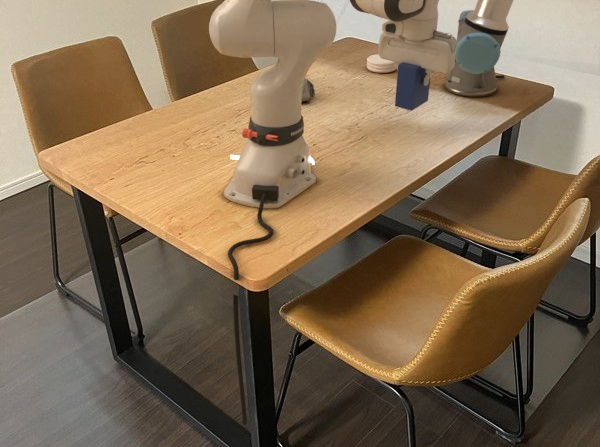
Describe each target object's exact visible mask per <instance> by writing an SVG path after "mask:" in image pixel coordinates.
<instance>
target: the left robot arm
mask: <svg viewBox="0 0 600 447" xmlns="http://www.w3.org/2000/svg"><path fill="white" fill-rule="evenodd" d="M349 3H350V5H351V6H352V7H353V8H354V9H355V10H356V11H357V12H360V13H364V14H369V15H373V16H375V17H378V18H381V19H384V20H387V21H386V22H384V23H382V25H381V29H382V33H381V34H380V36H379V41H378V47H377V48H378V49H377V54H379V56H380V58H381V59H386V60H390V61H394V62H396V65H395V66H396V70H397V71H398V65H399V64H401V63H403V62H404V63H409V64H413V65H417V66H421V68H424V69H426V73H428V74H427V75H426V76H424V77H423V78H421V85H425V86H427V85H428V84H429V78H430V77H432V76H433V74H434V73H435V72H437V73H440V74H441V73H442V74H449V72H450V71H451V70H452V69H453V68H454V66H455V50H456V44H457V38H455V36H453V34H452V33H449V32H442V31H438V30H437V29H438V20H439V10H438V9H439V8H438V7H439V3H440V0H349ZM208 33H209V39H210V41H211V43H212V45H213V47H214V49H215V50H217V52H218V53H219V54H220V55H223V56H229V57H235V58H242V59H250V58H277V60H276V62H275V63H274V64H273V65H272V66H271V67H270V68H268V69H266V70H264V71H262V72H261V73H259V74H258V75H257V76H256V77H255V78H254V79H253V80H252V82H251V84H250V86H249V101H250V102H249V103H250V117H249V123H248V126H247V128H245V127H244V128H243V129H242V131H241V137H242V138H244V139H247V140H246V142H245V144H244V146H243V148H242V151H241V153H240V154H239V155H236V154H230V156H229V157H230V160H237V161H236V163H235V166H234V167H233V168H234V169H233V177H232V178H231V180H230V181H229V183H228V184H227V186H226V187H225V188H224V190H223V196H224V198H225V199H228V200H229V201H231V202H233V203H237V204H239V205H244V206H248V207H252V208H258V210H257V214H256V216H257V221H258V224H259V225H260V226H261V227H262V228H264V229H265V230H266V231H268V233H267V234H266V235H264V236H261V237H257V238H250V239H244V240H241V241H238V242H236V243H234V244H233V245H232V246H231V247H230V248H229V249H228V250H227V258H228V259H229V261H230V263H231V265H232V268H233V279H234V281H239V280H240V271H239V265H238V262H237V260H236V258H235V257H234V255H233V253H234V251H236V249H238V248H239V247H242V246H247V245H252V244H258V243H263V242H265V241H267V240H269V239H271V238H272V236H273V235H274V229H273V228H272V227H271V226H270V225H269V224H268V223H265V221H264V220H263V216H262V215H263V210H264V209H278V208H280V207H283V205H285V204H286V203H288V202H289V201H292V199H294V198H295V197H296V196H298V195H299V194H301V193H303V192H304V191H305V190H307V189H308V188H309V187H311V186H313V185H314V184H316V182H317V176H316V175H315V174H314V173H312V167H311V164H312V166H315V160H314V159H313V157H312V156H311V154H310V147H309V145H308V144H307V142H306V140H305V138H304V133H305V132H304V131H305V130H304V127H305V121H304V116H303V115H302V101H301V100H302V88H303V82H304V79H305V78H306V76H307V74H308V73H309V70H310V68H312V65H313V64H314V63H315V61H317V59H319V58H320V56H322V55H323V54H324V53H325V52H327V51H328V50H329V49H330V48H331V46H333V45H332V44H333V43H334V42H335V38H336V36H337V19H336V17H335V14H334V12H333V10H332V9H331V7H330V6H329V5H328V4H327V3H325V2H320V1H316V0H224V1H223V2H222V3H221V4H219V5H218V6H217V7H216V8H215V9H214V11H213V12H212V14H211V17H210V20H209V24H208ZM430 79H431V78H430ZM232 297H233V298H232V304H233V305H232V306H233V329H234V330H233V331H234V332H233V333H234V346H235V357H236V367H237V368H236V369H237V377H238V378H237V379H238V386H239V388H238V389H239V397H240V405H241V406H240V407H241V417H242V425H244V426H246V425H247V424H248V418H247V406H246V405H247V404H246V395H245V384H244V376H243V364H242V354H241V353H242V352H241V340H240V322H239V321H240V320H239V319H240V318H239V295H236V294H233V295H232Z"/></svg>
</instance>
